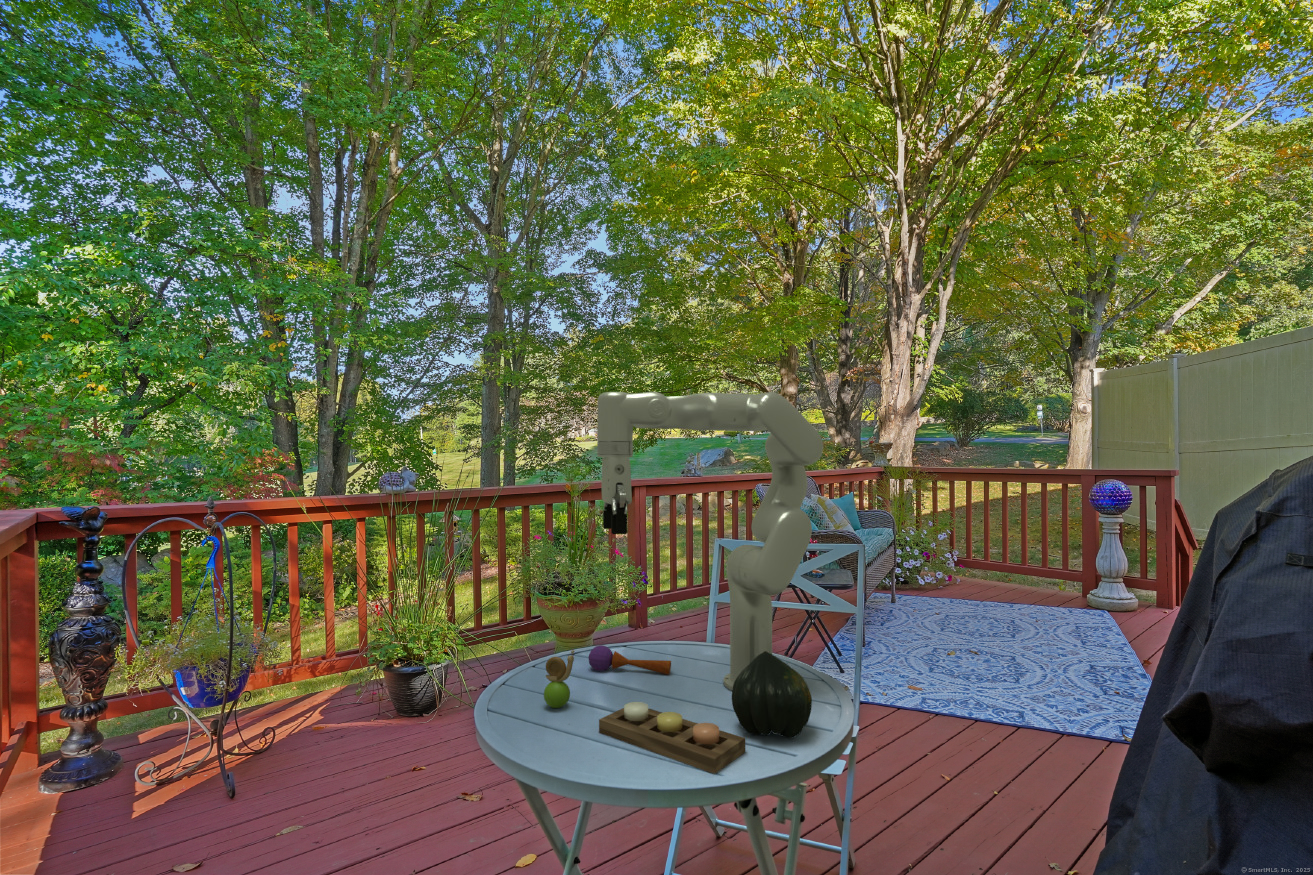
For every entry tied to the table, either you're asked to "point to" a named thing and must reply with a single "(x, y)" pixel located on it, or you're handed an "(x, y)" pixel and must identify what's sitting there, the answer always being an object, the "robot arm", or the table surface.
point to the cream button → (636, 711)
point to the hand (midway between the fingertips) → (614, 531)
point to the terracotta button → (706, 733)
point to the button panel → (674, 741)
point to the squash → (771, 698)
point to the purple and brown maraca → (623, 661)
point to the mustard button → (669, 722)
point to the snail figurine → (558, 681)
